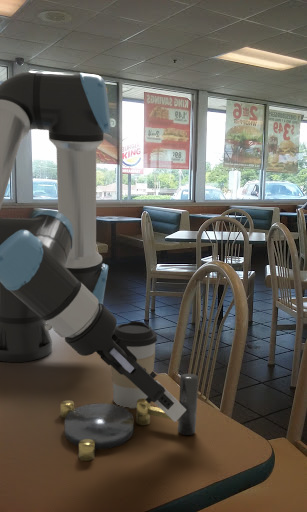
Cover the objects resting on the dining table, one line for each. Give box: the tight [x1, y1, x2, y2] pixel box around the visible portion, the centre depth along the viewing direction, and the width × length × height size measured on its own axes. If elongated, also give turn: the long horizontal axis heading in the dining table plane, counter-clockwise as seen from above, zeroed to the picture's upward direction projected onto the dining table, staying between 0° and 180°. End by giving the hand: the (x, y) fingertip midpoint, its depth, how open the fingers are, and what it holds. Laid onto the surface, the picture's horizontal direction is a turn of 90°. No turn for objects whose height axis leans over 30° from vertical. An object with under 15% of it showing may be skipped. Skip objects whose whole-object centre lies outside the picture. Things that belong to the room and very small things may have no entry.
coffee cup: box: [110, 320, 158, 409], centre depth 91 cm, size 9×9×15 cm
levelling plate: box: [60, 399, 135, 462], centre depth 80 cm, size 16×12×2 cm
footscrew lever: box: [135, 373, 199, 436], centre depth 81 cm, size 11×3×10 cm, turn 70°
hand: (177, 412), depth 77 cm, fingers closed
